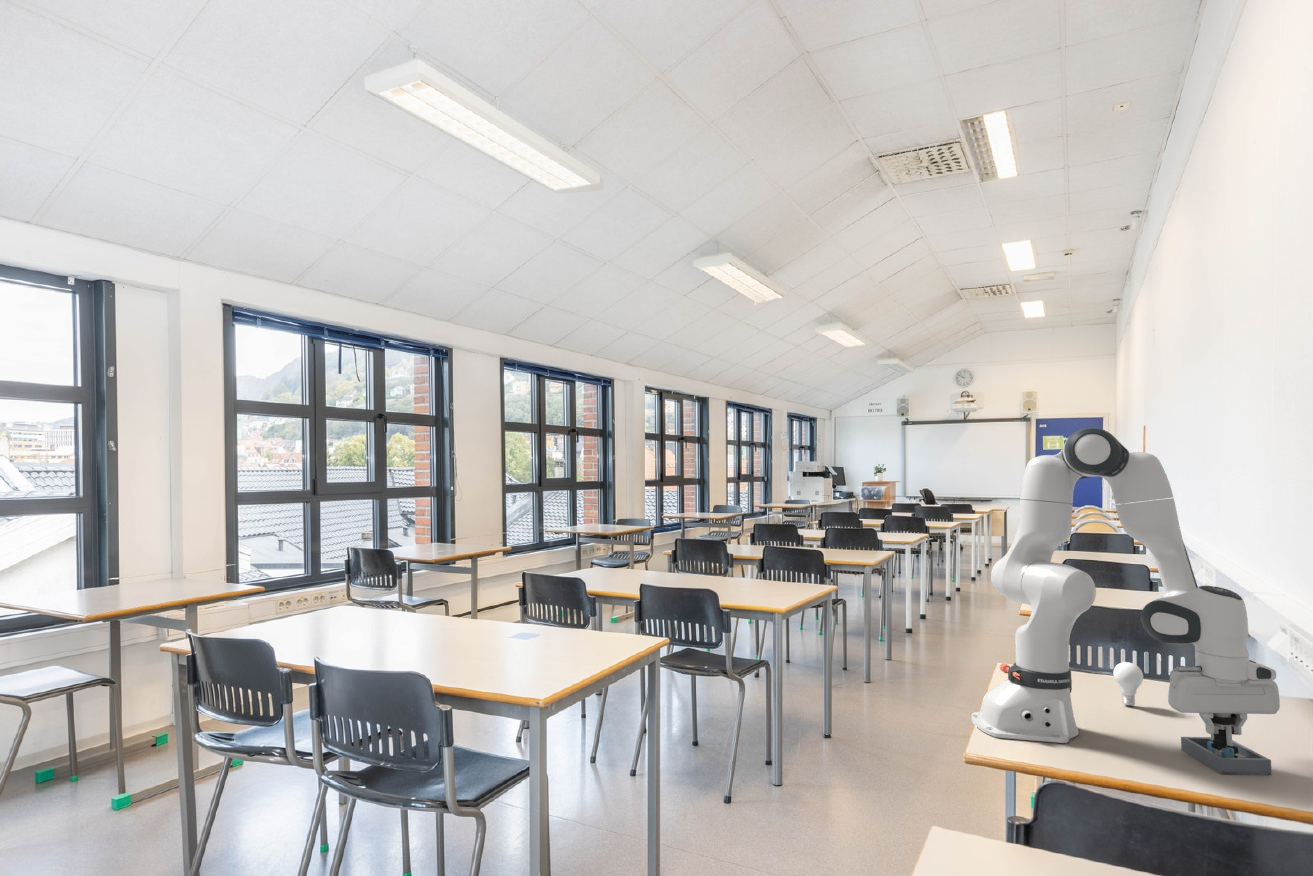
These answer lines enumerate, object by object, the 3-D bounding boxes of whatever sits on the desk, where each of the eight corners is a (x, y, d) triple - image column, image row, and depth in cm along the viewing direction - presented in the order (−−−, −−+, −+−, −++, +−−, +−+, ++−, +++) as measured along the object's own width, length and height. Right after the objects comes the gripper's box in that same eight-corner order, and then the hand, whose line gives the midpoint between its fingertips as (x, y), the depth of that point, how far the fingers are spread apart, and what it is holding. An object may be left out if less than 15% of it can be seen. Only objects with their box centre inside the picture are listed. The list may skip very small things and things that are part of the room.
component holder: (1221, 774, 142) (1220, 759, 142) (1181, 750, 154) (1181, 736, 154) (1271, 775, 142) (1270, 760, 142) (1227, 751, 153) (1227, 737, 153)
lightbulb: (1129, 711, 178) (1128, 666, 178) (1108, 703, 184) (1107, 660, 184) (1150, 709, 179) (1149, 665, 180) (1128, 701, 185) (1127, 658, 186)
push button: (1252, 761, 146) (1249, 712, 146) (1237, 767, 144) (1234, 717, 144) (1215, 750, 152) (1213, 702, 152) (1200, 755, 150) (1198, 707, 150)
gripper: (1180, 670, 146) (1182, 738, 145) (1284, 671, 145) (1286, 740, 144) (1160, 661, 152) (1161, 727, 152) (1260, 662, 151) (1261, 728, 151)
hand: (1223, 733), depth 148 cm, fingers closed on push button, 3 cm apart
